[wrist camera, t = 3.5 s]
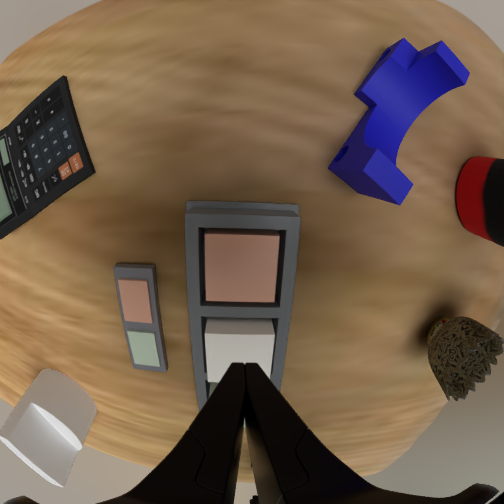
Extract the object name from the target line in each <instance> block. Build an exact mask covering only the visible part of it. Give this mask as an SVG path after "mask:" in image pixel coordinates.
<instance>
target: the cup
mask: <svg viewBox="0 0 504 504" xmlns="http://www.w3.org/2000/svg"><path fill="white" fill-rule="evenodd" d="M426 340H427V343H428V345H429V350H428V359H429V363H430V366H431V369H432V371H433V373H434V375H435V377H436V379H437V380H438V382H439V384H440V386H441V388H442V389H443V391H444V393H445V395H446V397H447V399H448V400H450V396H452V397H453V398H454V399H455V400H456V401H458V398H461V399H465V398H466V397H467V394H468V390H469V389H470V390H471V391H475V383H474V381H475V382H485V375H490V374H491V367H490V364H489V363H492V364H494V365H497V359H496V358H495V356H496V355H500V354H502V353H503V346H502V344H503V343H504V340H503V338H501V337H499V334H497V333H495V332H494V331H492V330H491V329H489V328H487V327H486V326H484V325H482V324H481V323H479V322H477V321H475V320H473V319H471V318H468V317H455V318H452V319H451V318H450V317H447V316H441V317H439V318H437V319H436V320H435V321H434V322H433V323H432V324H431V325H430V327H429V328H428V330H427V334H426Z"/></svg>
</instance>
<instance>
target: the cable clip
mask: <svg viewBox="0 0 504 504" xmlns="http://www.w3.org/2000/svg"><path fill="white" fill-rule="evenodd" d="M469 74H470V73H469V71H468V70H467V69H466V68H465V66H464V65H463V64H462V63H461V62H460V60H459V59H458V58H457V57H456V56H455V54H454V53H453V52H452V51H451V50H450V49H449V48H448V47H447V46H446V44H445V43H444V42H443V41H439V42H437V43H435V44H433V45H431V46H429V47H427V48H425V49H423V50H421V51H419V52H418V51H417V50H416V49H415V48H414V47H413V46H412V45H411V44H410V43H409V42H408V41H407V40H406V39H405V38H403V39H401V40H399V41H398V42H396V43H395V44H393V45H392V46H390V47H389V48H387V49H386V50H385V52H384V53H383V55H382V56H381V57H380V59H379V60H378V62H377V63H376V64H375V66H374V67H373V69H372V70H371V71H370V73H369V74H368V76H367V77H366V78H365V80H364V81H363V83H362V84H361V85H360V87H359V88H358V90H357V91H356V92H355V94H354V95H355V96H356V97H358V98H359V99H360V100H361V101H362V102H364V103H365V104H366V105H367V106H368V107H369V109H368V110H367V112H366V113H365V115H364V116H363V118H362V119H361V120H360V122H359V123H358V125H357V126H356V128H355V129H354V131H353V132H352V134H351V135H350V137H349V138H348V139H347V141H346V142H345V144H344V145H343V147H342V148H341V150H340V151H339V153H338V154H337V155H336V157H335V158H334V160H333V161H332V163H331V164H330V166H329V167H328V169H329V170H331V171H332V172H333V173H334V174H336V175H337V176H338V177H339V178H341V179H342V180H343V181H344V182H346V183H347V184H348V185H349V186H350V187H352V188H353V189H354V190H355V191H356V192H358V193H359V194H363V195H367V196H370V197H374V198H377V199H381V200H384V201H387V202H391V203H394V204H397V205H401V203H402V202H403V200H404V199H405V197H406V195H407V194H408V192H409V191H410V189H411V187H412V186H413V183H412V182H411V181H410V180H409V179H408V178H407V177H406V176H405V175H404V174H403V173H402V172H401V171H400V170H399V169H398V168H397V167H396V157H397V152H398V149H399V146H400V143H401V141H402V139H403V137H404V135H405V134H406V132H407V130H408V129H409V127H410V126H411V124H412V123H413V122H414V120H415V119H416V118H417V117H418V116H419V114H420V113H421V112H422V111H423V110H424V109H425V108H426V107H427V106H428V105H430V104H431V103H432V102H433V101H434V100H436V99H437V98H438V97H440V96H441V95H443V94H445V93H446V92H448V91H450V90H452V89H454V88H457V87H460V86H463V85H465V84H466V81H467V79H468V76H469Z"/></svg>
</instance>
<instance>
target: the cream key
mask: <svg viewBox="0 0 504 504" xmlns="http://www.w3.org/2000/svg"><path fill="white" fill-rule="evenodd" d="M274 337H275V333H274V328H273V324H272V319H271V318H233V317H208V318H207V324H206V329H205V347H206V362H207V376H208V382H219V381H220V380H221V378H222V377H223V375H224V374H225V372H226V370H227V369H228V367H229V366H230V364H231V363H232V362H243V363H244V365H245V363H246V362H256V363H258V364H259V365H260V367H261V368H262V369H263V371H264V372H265V373H266V375H267V376H268V377H269V379H270V373H271V365H272V356H273V347H274Z"/></svg>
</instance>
